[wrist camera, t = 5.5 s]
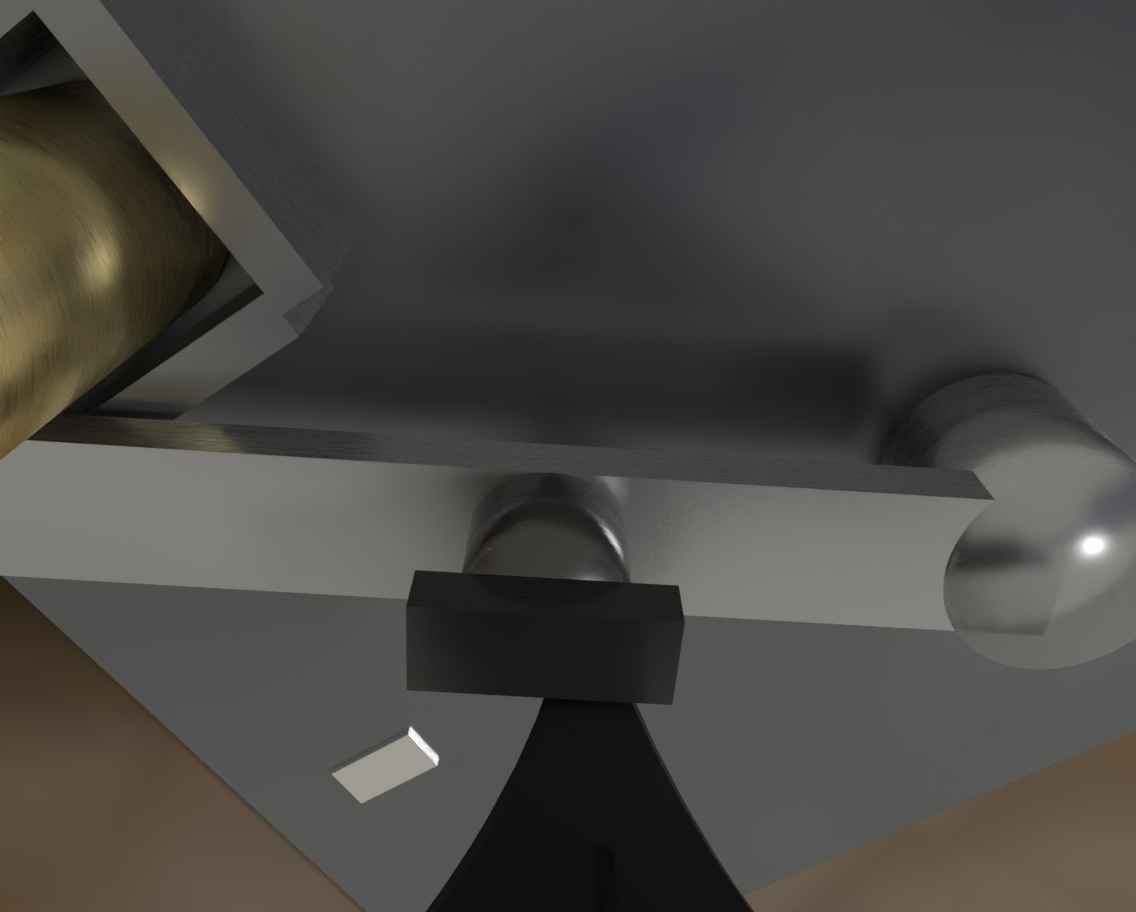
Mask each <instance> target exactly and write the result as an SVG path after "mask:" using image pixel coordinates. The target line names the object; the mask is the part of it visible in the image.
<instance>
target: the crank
mask: <svg viewBox="0 0 1136 912" xmlns="http://www.w3.org/2000/svg"><path fill="white" fill-rule="evenodd" d="M0 576H16V577H34V578H51V579H68V580H85V581H103V582H120V583H137V584H154V585H171V586H189V587H206V588H223V589H240V590H258V591H275V592H292V593H309V594H327V595H344V596H361V597H378V598H396V599H408V600H407V604H406V669H407V690H409V691H428V692H446V693H464V694H482V695H500V696H518V697H536V698H554V699H572V700H590V701H608V702H626V703H644V704H662V705H673V698H674V692H675V685H676V678H677V672H678V665H679V658H680V652H681V645H682V638H683V632H684V625H685V620H684V615H689V616H706V617H723V618H741V619H758V620H775V621H792V622H810V623H827V624H844V625H861V626H879V627H896V628H913V629H930V630H947V631H956V632H957V634H958V635H959V637H960V638H961V639H962V640H963V641H964V642H965V643H966V644H967V645H968V646H969V647H971V648H972V649H974V650H975V651H976V652H978V653H979V654H981V655H983V656H985V657H987V658H989V659H990V660H993V661H996V662H999V663H1001V664H1004V665H1009V666H1013V667H1018V668H1027V669H1053V668H1063V667H1068V666H1073V665H1078V664H1081V663H1085V662H1088V661H1091V660H1094V659H1097V658H1099V657H1102V656H1104V655H1107V654H1109V653H1111V652H1113V651H1115V650H1117V649H1119V648H1121V647H1123V646H1124V645H1126V644H1127V643H1129V642H1131V641H1132V640H1134V639H1135V638H1136V462H1135V461H1134V460H1133V459H1132V458H1131V457H1130V456H1129V455H1128V454H1126V453H1125V452H1124V451H1123V450H1122V449H1121V448H1120V447H1119V446H1118V445H1117V444H1115V443H1114V442H1113V441H1112V440H1111V439H1110V438H1109V437H1108V436H1107V435H1105V434H1104V433H1103V432H1102V431H1101V430H1100V429H1099V428H1098V427H1097V426H1096V425H1094V424H1093V423H1092V422H1091V421H1090V420H1089V419H1088V418H1087V417H1086V416H1084V415H1083V414H1082V413H1081V412H1080V411H1079V410H1078V409H1077V408H1076V407H1075V406H1073V405H1072V404H1071V403H1070V402H1069V401H1068V400H1067V399H1066V398H1065V397H1063V396H1062V395H1061V394H1060V393H1059V392H1058V391H1056V390H1055V389H1053V388H1052V387H1050V386H1048V385H1047V384H1045V383H1043V382H1040V381H1038V380H1036V379H1033V378H1029V377H1025V376H1021V375H1014V374H988V375H980V376H976V377H971V378H967V379H964V380H961V381H958V382H956V383H953V384H951V385H949V386H947V387H944V388H942V389H940V390H939V391H937V392H935V393H934V394H932V395H931V396H929V397H927V398H926V399H925V400H924V401H922V402H921V403H920V404H918V405H917V406H916V407H915V408H914V409H913V410H912V411H911V412H910V413H909V414H908V415H907V416H906V417H905V418H904V419H903V421H902V422H901V423H900V424H899V426H898V427H897V429H896V430H895V432H894V433H893V435H892V437H891V438H890V440H889V443H888V445H887V447H886V449H885V452H884V455H883V459H882V463H881V465H874V464H858V463H843V462H827V461H811V460H795V459H779V458H763V457H747V456H731V455H715V454H699V453H683V452H667V451H651V450H635V449H619V448H603V447H587V446H571V445H555V444H539V443H523V442H507V441H491V440H475V439H459V438H443V437H427V436H411V435H395V434H379V433H363V432H348V431H332V430H316V429H300V428H284V427H268V426H252V425H236V424H220V423H204V422H188V421H172V420H156V419H140V418H124V417H108V416H92V415H76V414H60V413H59V414H58V415H57V416H55V417H54V418H53V419H52V420H50V421H49V422H48V423H47V424H45V425H44V426H43V427H42V428H40V429H39V430H38V431H37V432H35V433H34V434H33V435H31V436H30V437H29V438H28V439H26V440H25V441H24V442H23V443H21V444H20V445H19V446H18V447H16V448H15V449H14V450H13V451H11V452H10V453H9V454H8V455H6V456H5V457H4V458H3V459H1V460H0Z"/></svg>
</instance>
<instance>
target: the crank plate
mask: <svg viewBox="0 0 1136 912" xmlns="http://www.w3.org/2000/svg"><path fill="white" fill-rule="evenodd" d="M67 82H92V83H93V84H94V85H95V86H96V88H97V89H98V90H99V91H100V92H101V94H102V95H103V96H104V97H105V99H106V100H107V101H108V102H109V104H110V105H111V106H112V107H113V108H114V110H115V111H116V112H117V113H118V115H119V116H120V117H121V118H122V119H123V121H124V122H125V123H126V124H127V126H128V127H129V128H130V129H131V131H132V132H133V133H134V134H135V135H136V137H137V138H138V139H139V140H140V142H141V143H142V144H143V145H144V146H145V148H146V149H147V150H148V151H149V153H150V154H151V155H152V156H153V158H154V159H155V160H156V161H157V162H158V164H159V165H160V166H161V167H162V169H163V170H164V171H165V172H166V173H167V175H168V176H169V177H170V178H171V180H172V181H173V182H174V183H175V185H176V186H177V187H178V188H179V189H180V191H181V192H182V193H183V194H184V196H185V197H186V198H187V199H188V201H189V202H190V203H191V204H192V205H193V207H194V208H195V209H196V210H197V212H198V213H199V214H200V215H201V216H202V218H203V219H204V220H205V221H206V223H207V224H208V225H209V226H210V228H211V229H212V230H213V231H214V232H215V234H216V235H217V236H218V237H219V239H220V240H221V241H222V242H223V243H224V245H225V246H226V247H227V250H226V255H225V259H224V262H223V265H222V268H221V271H220V273H219V275H218V277H217V279H216V281H215V283H214V284H213V286H212V287H211V288H210V290H209V291H208V293H207V294H206V295H205V296H204V297H203V298H202V299H201V300H200V301H199V302H198V303H197V304H196V305H195V306H194V307H192V308H191V309H190V310H189V311H187V312H186V313H185V314H183V315H182V316H181V317H180V318H178V319H177V320H176V321H175V322H173V323H172V324H171V325H170V326H168V327H167V328H166V329H165V330H163V331H162V332H161V333H160V334H158V335H157V336H156V337H155V338H153V339H152V340H151V341H150V342H148V343H147V344H146V345H145V346H143V347H142V348H141V349H140V350H138V351H137V352H136V353H134V354H133V355H132V356H131V357H129V358H128V359H127V360H126V361H124V362H123V363H122V364H121V365H119V366H118V367H117V368H116V369H114V370H113V371H112V372H111V373H109V374H108V375H107V376H106V377H104V378H103V379H102V380H101V381H99V382H98V383H97V384H96V385H94V386H93V387H92V388H91V389H89V390H88V391H87V392H85V393H84V394H83V395H82V396H80V397H79V398H78V399H77V400H75V401H74V402H73V403H72V404H70V405H69V406H68V407H67V408H65V409H64V410H63V411H62V412H60V414H76V415H92V416H108V417H124V418H140V419H156V420H172V421H188V422H204V423H220V424H236V425H252V426H268V427H284V428H300V429H316V430H332V431H348V432H363V433H379V434H395V435H411V436H427V437H443V438H459V439H475V440H491V441H507V442H523V443H539V444H555V445H571V446H587V447H603V448H619V449H635V450H651V451H667V452H683V453H699V454H715V455H731V456H747V457H763V458H779V459H795V460H811V461H827V462H843V463H858V464H874V465H881V463H882V459H883V455H884V452H885V449H886V447H887V445H888V443H889V440H890V438H891V437H892V435H893V433H894V432H895V430H896V429H897V427H898V426H899V424H900V423H901V422H902V421H903V419H904V418H905V417H906V416H907V415H908V414H909V413H910V412H911V411H912V410H913V409H914V408H915V407H916V406H917V405H918V404H920V403H921V402H922V401H924V400H925V399H926V398H927V397H929V396H931V395H932V394H934V393H935V392H937V391H939V390H940V389H942V388H944V387H947V386H949V385H951V384H953V383H956V382H958V381H961V380H964V379H967V378H971V377H976V376H980V375H988V374H1014V375H1021V376H1025V377H1029V378H1033V379H1036V380H1038V381H1040V382H1043V383H1045V384H1047V385H1048V386H1050V387H1052V388H1053V389H1055V390H1056V391H1058V392H1059V393H1060V394H1061V395H1062V396H1063V397H1065V398H1066V399H1067V400H1068V401H1069V402H1070V403H1071V404H1072V405H1073V406H1075V407H1076V408H1077V409H1078V410H1079V411H1080V412H1081V413H1082V414H1083V415H1084V416H1086V417H1087V418H1088V419H1089V420H1090V421H1091V422H1092V423H1093V424H1094V425H1096V426H1097V427H1098V428H1099V429H1100V430H1101V431H1102V432H1103V433H1104V434H1105V435H1107V436H1108V437H1109V438H1110V439H1111V440H1112V441H1113V442H1114V443H1115V444H1117V445H1118V446H1119V447H1120V448H1121V449H1122V450H1123V451H1124V452H1125V453H1126V454H1128V455H1129V456H1130V457H1131V458H1132V459H1133V460H1134V461H1135V462H1136V0H0V96H3V95H8V94H13V93H18V92H23V91H27V90H32V89H37V88H42V87H47V86H52V85H56V84H61V83H67ZM3 577H4V578H5V579H6V580H7V581H8V582H9V583H10V584H11V585H12V586H13V587H15V588H16V589H17V590H18V591H19V592H20V593H21V594H22V595H23V596H24V597H25V598H27V599H28V600H29V601H30V602H31V603H32V604H33V605H34V606H35V607H36V608H37V609H38V610H40V611H41V612H42V613H43V614H44V615H45V616H46V617H47V618H48V619H49V620H50V621H51V622H53V623H54V624H55V625H56V626H57V627H58V628H59V629H60V630H61V631H62V632H63V633H64V634H66V635H67V636H68V637H69V638H70V639H71V640H72V641H73V642H74V643H75V644H76V645H78V646H79V647H80V648H81V649H82V650H83V651H84V652H85V653H86V654H87V655H88V656H89V657H91V658H92V659H93V660H94V661H95V662H96V663H97V664H98V665H99V666H100V667H101V668H102V669H104V670H105V671H106V672H107V673H108V674H109V675H110V676H111V677H112V678H113V679H114V680H115V681H117V682H118V683H119V684H120V685H121V686H122V687H123V688H124V689H125V690H126V691H127V692H129V693H130V694H131V695H132V696H133V697H134V698H135V699H136V700H137V701H138V702H139V703H140V704H142V705H143V706H144V707H145V708H146V709H147V710H148V711H149V712H150V713H151V714H152V715H153V716H155V717H156V718H157V719H158V720H159V721H160V722H161V723H162V724H163V725H164V726H165V727H166V728H168V729H169V730H170V731H171V732H172V733H173V734H174V735H175V736H176V737H177V738H178V739H180V740H181V741H182V742H183V743H184V744H185V745H186V746H187V747H188V748H189V749H190V750H191V751H193V752H194V753H195V754H196V755H197V756H198V757H199V758H200V759H201V760H202V761H203V762H204V763H206V764H207V765H208V766H209V767H210V768H211V769H212V770H213V771H214V772H215V773H216V774H217V775H219V776H220V777H221V778H222V779H223V780H224V781H225V782H226V783H227V784H228V785H229V786H230V787H232V788H233V789H234V790H235V791H236V792H237V793H238V794H239V795H240V796H241V797H242V798H244V799H245V800H246V801H247V802H248V803H249V804H250V805H251V806H252V807H253V808H254V809H255V810H257V811H258V812H259V813H260V814H261V815H262V816H263V817H264V818H265V819H266V820H267V821H268V822H270V823H271V824H272V825H273V826H274V827H275V828H276V829H277V830H278V831H279V832H280V833H281V834H283V835H284V836H285V837H286V838H287V839H288V840H289V841H290V842H291V843H292V844H293V845H295V846H296V847H297V848H298V849H299V850H300V851H301V852H302V853H303V854H304V855H305V856H306V857H308V858H309V859H310V860H311V861H312V862H313V863H314V864H315V865H316V866H317V867H318V868H319V869H321V870H322V871H323V872H324V873H325V874H326V875H327V876H328V877H329V878H330V879H331V880H332V881H334V882H335V883H336V884H337V885H338V886H339V887H340V888H341V889H342V890H343V891H344V892H346V893H347V894H348V895H349V896H350V897H351V898H352V899H353V900H354V901H355V902H356V903H357V904H359V905H360V906H361V907H362V908H363V909H364V910H365V911H366V912H426V910H427V909H428V908H429V906H430V905H431V903H432V902H433V901H434V899H435V898H436V897H437V895H438V894H439V892H440V891H441V890H442V888H443V887H444V885H445V884H446V882H447V881H448V879H449V878H450V876H451V875H452V873H453V872H454V870H455V869H456V867H457V866H458V864H459V863H460V861H461V860H462V858H463V857H464V855H465V854H466V852H467V851H468V849H469V847H470V846H471V844H472V843H473V841H474V839H475V838H476V836H477V834H478V833H479V831H480V829H481V828H482V826H483V824H484V823H485V821H486V819H487V818H488V816H489V814H490V812H491V810H492V808H493V807H494V805H495V803H496V801H497V799H498V797H499V796H500V794H501V792H502V790H503V788H504V786H505V784H506V783H507V781H508V779H509V777H510V775H511V773H512V771H513V769H514V767H515V765H516V763H517V761H518V759H519V757H520V755H521V752H522V750H523V748H524V746H525V743H526V741H527V739H528V737H529V734H530V732H531V730H532V727H533V725H534V723H535V721H536V718H537V716H538V713H539V710H540V707H541V704H542V701H543V699H544V698H536V697H518V696H500V695H482V694H464V693H446V692H428V691H409V690H407V669H406V604H407V600H408V599H396V598H378V597H361V596H344V595H327V594H309V593H292V592H275V591H258V590H240V589H223V588H206V587H189V586H171V585H154V584H137V583H120V582H103V581H85V580H68V579H51V578H34V577H16V576H3ZM684 620H685V625H684V632H683V638H682V645H681V652H680V658H679V665H678V672H677V678H676V685H675V692H674V698H673V705H662V704H644V703H637V706H638V708H639V710H640V713H641V715H642V717H643V719H644V722H645V724H646V726H647V728H648V731H649V733H650V735H651V737H652V739H653V741H654V743H655V745H656V748H657V750H658V752H659V754H660V756H661V758H662V759H663V761H664V763H665V765H666V767H667V769H668V771H669V773H670V775H671V777H672V779H673V781H674V783H675V785H676V787H677V789H678V791H679V793H680V794H681V796H682V798H683V800H684V802H685V803H686V805H687V807H688V809H689V811H690V812H691V814H692V816H693V818H694V819H695V821H696V823H697V824H698V826H699V828H700V829H701V831H702V833H703V834H704V836H705V838H706V839H707V841H708V843H709V845H710V846H711V848H712V850H713V851H714V853H715V854H716V856H717V858H718V859H719V861H720V862H721V864H722V865H723V867H724V869H725V870H726V872H727V873H728V875H729V876H730V878H731V879H732V881H733V882H734V884H735V885H736V887H737V888H738V890H739V891H740V893H741V894H742V895H744V894H747V893H749V892H751V891H754V890H756V889H758V888H761V887H763V886H766V885H768V884H770V883H773V882H775V881H778V880H780V879H782V878H785V877H787V876H789V875H792V874H794V873H797V872H799V871H801V870H804V869H806V868H808V867H811V866H813V865H816V864H818V863H820V862H823V861H825V860H828V859H830V858H832V857H835V856H837V855H839V854H842V853H844V852H847V851H849V850H851V849H854V848H856V847H859V846H861V845H863V844H866V843H868V842H870V841H873V840H875V839H878V838H880V837H882V836H885V835H887V834H889V833H892V832H894V831H897V830H899V829H901V828H904V827H906V826H909V825H911V824H913V823H916V822H918V821H920V820H923V819H925V818H928V817H930V816H932V815H935V814H937V813H940V812H942V811H944V810H947V809H949V808H951V807H954V806H956V805H959V804H961V803H963V802H966V801H968V800H970V799H973V798H975V797H978V796H980V795H982V794H985V793H987V792H990V791H992V790H994V789H997V788H999V787H1001V786H1004V785H1006V784H1009V783H1011V782H1013V781H1016V780H1018V779H1021V778H1023V777H1025V776H1028V775H1030V774H1032V773H1035V772H1037V771H1040V770H1042V769H1044V768H1047V767H1049V766H1051V765H1054V764H1056V763H1059V762H1061V761H1063V760H1066V759H1068V758H1071V757H1073V756H1075V755H1078V754H1080V753H1082V752H1085V751H1087V750H1090V749H1092V748H1094V747H1097V746H1099V745H1102V744H1104V743H1106V742H1109V741H1111V740H1113V739H1116V738H1118V737H1121V736H1123V735H1125V734H1128V733H1130V732H1132V731H1135V730H1136V638H1135V639H1134V640H1132V641H1131V642H1129V643H1127V644H1126V645H1124V646H1123V647H1121V648H1119V649H1117V650H1115V651H1113V652H1111V653H1109V654H1107V655H1104V656H1102V657H1099V658H1097V659H1094V660H1091V661H1088V662H1085V663H1081V664H1078V665H1073V666H1068V667H1063V668H1053V669H1027V668H1018V667H1013V666H1009V665H1004V664H1001V663H999V662H996V661H993V660H990V659H989V658H987V657H985V656H983V655H981V654H979V653H978V652H976V651H975V650H974V649H972V648H971V647H969V646H968V645H967V644H966V643H965V642H964V641H963V640H962V639H961V638H960V637H959V635H958V634H957V632H956V631H947V630H930V629H913V628H896V627H879V626H861V625H844V624H827V623H810V622H792V621H775V620H758V619H741V618H723V617H706V616H689V615H684Z"/></svg>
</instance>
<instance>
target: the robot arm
mask: <svg viewBox="0 0 1136 912" xmlns="http://www.w3.org/2000/svg"><path fill="white" fill-rule="evenodd" d="M426 912H754V911H753V910H752V908H751V907H750V906H749V904H748V903H747V901H746V900H745V898H744V897H743V896H742V894H741V893H740V891H739V890H738V888H737V887H736V885H735V884H734V882H733V881H732V879H731V878H730V876H729V875H728V873H727V872H726V870H725V869H724V867H723V865H722V864H721V862H720V861H719V859H718V858H717V856H716V854H715V853H714V851H713V850H712V848H711V846H710V845H709V843H708V841H707V839H706V838H705V836H704V834H703V833H702V831H701V829H700V828H699V826H698V824H697V823H696V821H695V819H694V818H693V816H692V814H691V812H690V811H689V809H688V807H687V805H686V803H685V802H684V800H683V798H682V796H681V794H680V793H679V791H678V789H677V787H676V785H675V783H674V781H673V779H672V777H671V775H670V773H669V771H668V769H667V767H666V765H665V763H664V761H663V759H662V758H661V756H660V754H659V752H658V750H657V748H656V745H655V743H654V741H653V739H652V737H651V735H650V733H649V731H648V728H647V726H646V724H645V722H644V719H643V717H642V715H641V713H640V710H639V708H638V706H637V703H626V702H608V701H590V700H572V699H554V698H544V699H543V701H542V704H541V707H540V710H539V713H538V716H537V718H536V721H535V723H534V725H533V727H532V730H531V732H530V734H529V737H528V739H527V741H526V743H525V746H524V748H523V750H522V752H521V755H520V757H519V759H518V761H517V763H516V765H515V767H514V769H513V771H512V773H511V775H510V777H509V779H508V781H507V783H506V784H505V786H504V788H503V790H502V792H501V794H500V796H499V797H498V799H497V801H496V803H495V805H494V807H493V808H492V810H491V812H490V814H489V816H488V818H487V819H486V821H485V823H484V824H483V826H482V828H481V829H480V831H479V833H478V834H477V836H476V838H475V839H474V841H473V843H472V844H471V846H470V847H469V849H468V851H467V852H466V854H465V855H464V857H463V858H462V860H461V861H460V863H459V864H458V866H457V867H456V869H455V870H454V872H453V873H452V875H451V876H450V878H449V879H448V881H447V882H446V884H445V885H444V887H443V888H442V890H441V891H440V892H439V894H438V895H437V897H436V898H435V899H434V901H433V902H432V903H431V905H430V906H429V908H428V909H427V910H426Z"/></svg>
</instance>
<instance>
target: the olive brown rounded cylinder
mask: <svg viewBox="0 0 1136 912" xmlns="http://www.w3.org/2000/svg"><path fill="white" fill-rule="evenodd" d="M226 250H227V247H226V246H225V245H224V243H223V242H222V241H221V240H220V239H219V237H218V236H217V235H216V234H215V232H214V231H213V230H212V229H211V228H210V226H209V225H208V224H207V223H206V221H205V220H204V219H203V218H202V216H201V215H200V214H199V213H198V212H197V210H196V209H195V208H194V207H193V205H192V204H191V203H190V202H189V201H188V199H187V198H186V197H185V196H184V194H183V193H182V192H181V191H180V189H179V188H178V187H177V186H176V185H175V183H174V182H173V181H172V180H171V178H170V177H169V176H168V175H167V173H166V172H165V171H164V170H163V169H162V167H161V166H160V165H159V164H158V162H157V161H156V160H155V159H154V158H153V156H152V155H151V154H150V153H149V151H148V150H147V149H146V148H145V146H144V145H143V144H142V143H141V142H140V140H139V139H138V138H137V137H136V135H135V134H134V133H133V132H132V131H131V129H130V128H129V127H128V126H127V124H126V123H125V122H124V121H123V119H122V118H121V117H120V116H119V115H118V113H117V112H116V111H115V110H114V108H113V107H112V106H111V105H110V104H109V102H108V101H107V100H106V99H105V97H104V96H103V95H102V94H101V92H100V91H99V90H98V89H97V88H96V86H95V85H94V84H93V83H92V82H67V83H61V84H56V85H52V86H47V87H42V88H37V89H32V90H27V91H23V92H18V93H13V94H8V95H3V96H0V460H1V459H3V458H4V457H5V456H6V455H8V454H9V453H10V452H11V451H13V450H14V449H15V448H16V447H18V446H19V445H20V444H21V443H23V442H24V441H25V440H26V439H28V438H29V437H30V436H31V435H33V434H34V433H35V432H37V431H38V430H39V429H40V428H42V427H43V426H44V425H45V424H47V423H48V422H49V421H50V420H52V419H53V418H54V417H55V416H57V415H58V414H59V413H60V412H62V411H63V410H64V409H65V408H67V407H68V406H69V405H70V404H72V403H73V402H74V401H75V400H77V399H78V398H79V397H80V396H82V395H83V394H84V393H85V392H87V391H88V390H89V389H91V388H92V387H93V386H94V385H96V384H97V383H98V382H99V381H101V380H102V379H103V378H104V377H106V376H107V375H108V374H109V373H111V372H112V371H113V370H114V369H116V368H117V367H118V366H119V365H121V364H122V363H123V362H124V361H126V360H127V359H128V358H129V357H131V356H132V355H133V354H134V353H136V352H137V351H138V350H140V349H141V348H142V347H143V346H145V345H146V344H147V343H148V342H150V341H151V340H152V339H153V338H155V337H156V336H157V335H158V334H160V333H161V332H162V331H163V330H165V329H166V328H167V327H168V326H170V325H171V324H172V323H173V322H175V321H176V320H177V319H178V318H180V317H181V316H182V315H183V314H185V313H186V312H187V311H189V310H190V309H191V308H192V307H194V306H195V305H196V304H197V303H198V302H199V301H200V300H201V299H202V298H203V297H204V296H205V295H206V294H207V293H208V291H209V290H210V288H211V287H212V286H213V284H214V283H215V281H216V279H217V277H218V275H219V273H220V271H221V268H222V265H223V262H224V259H225V255H226Z"/></svg>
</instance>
